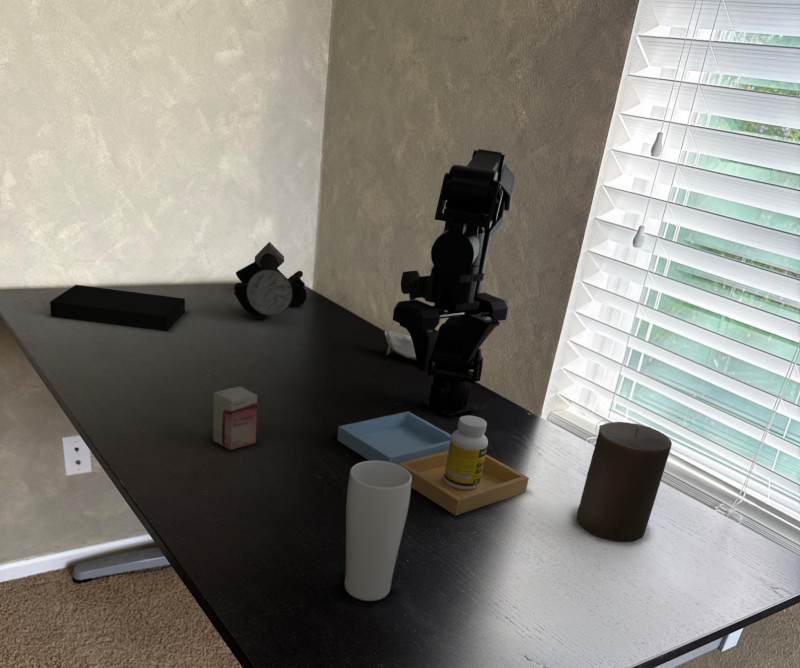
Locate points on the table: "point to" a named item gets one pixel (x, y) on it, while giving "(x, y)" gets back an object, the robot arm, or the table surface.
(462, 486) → the supplement bottle
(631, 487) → the pillar candle
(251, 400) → the small box
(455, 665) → the table surface
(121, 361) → the table surface
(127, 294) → the external hard drive
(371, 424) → the tray
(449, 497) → the tray
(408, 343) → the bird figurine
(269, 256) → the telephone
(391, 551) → the drinking glass
